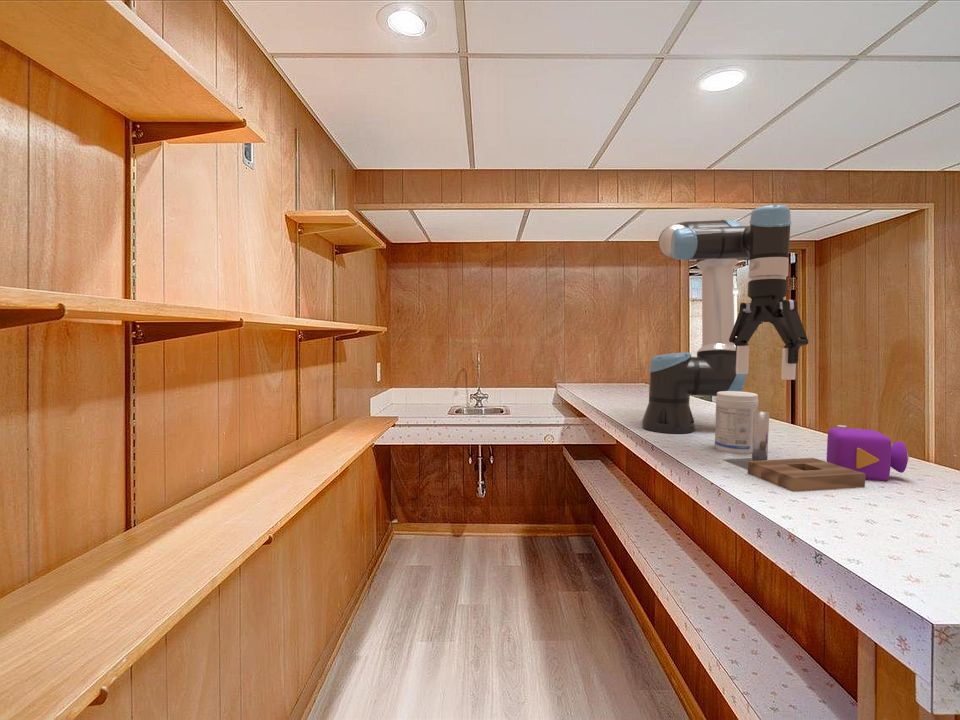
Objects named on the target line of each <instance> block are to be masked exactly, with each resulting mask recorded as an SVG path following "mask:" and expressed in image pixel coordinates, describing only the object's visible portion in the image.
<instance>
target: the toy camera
mask: <svg viewBox="0 0 960 720" xmlns="http://www.w3.org/2000/svg"><path fill="white" fill-rule="evenodd" d="M826 442H827V443H826V445H827V446H826V462H829V463H832V464H835V465H839V466H842V467H845V468H849V469H852V470H855V471H859V472H862V473H865V480H872V481H881V482H883V481H888V480H889V479H890V475H891V469H893V470H895V471H896V472H898V473H900V474H903V473H904V472H905V471H906V469H907V466H908V462H909V460H910V459H909V457H910V456H909V453H908V451H907V447H906V444H905V443H904V442H903V441H902V440H900V441H897V442H895V443H892V441H891V439H890V438H889V437H888V436H887V435H885V434H883V433H881V432H879V431H877V430H874V429H866V428H864V429H863V428H851V427H849V428H848V425H842V424H838V425H836V427H832V428H830V429H828V432H827V441H826Z"/></svg>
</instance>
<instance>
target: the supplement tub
mask: <svg viewBox="0 0 960 720" xmlns="http://www.w3.org/2000/svg"><path fill="white" fill-rule="evenodd" d="M754 411H759V395H758V393H755V392H749V391H741V392H740V391H721V392H717V396H716V398H715V424H714V425H715V427H714V430H715V431H714V434H715V435H714V447H715V449H716V450H718V451H721V452H726V453H730V454H740V455H750V454H751V455H752V446H753V421H754Z"/></svg>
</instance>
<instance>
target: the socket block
mask: <svg viewBox="0 0 960 720" xmlns="http://www.w3.org/2000/svg"><path fill="white" fill-rule="evenodd" d="M747 474H748V475H750V476H752V477H753V476H754V477H756V478H758V479H759V480H763V481H765V482H768V483H770V484H773V485H775V486H778V487H781V488H783V489H785V490H788V491H791V492H792V493H793V492H794V493H796V492H806V491H807V492H810V491H822V490H823V491H824V490H825V491H826V490H836V489H837V490H841V489H854V488H865V487H866V479H865V473H862V472H859V471H855V470H852V469H849V468H845V467H842V466H839V465H835V464H832V463H829V462H827V461H826V460H821V459H818V458H815V457H804V458H803V457H802V458H785V459H784V458H783V459H767V460H761V461H748V470H747Z"/></svg>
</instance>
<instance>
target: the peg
mask: <svg viewBox="0 0 960 720" xmlns="http://www.w3.org/2000/svg"><path fill="white" fill-rule="evenodd" d="M769 426H770V412H769V411H764V410H758V411H754V421H753V446H752V453H751V458H752V461H761V460H768V455H769V429H770V427H769Z"/></svg>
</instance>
